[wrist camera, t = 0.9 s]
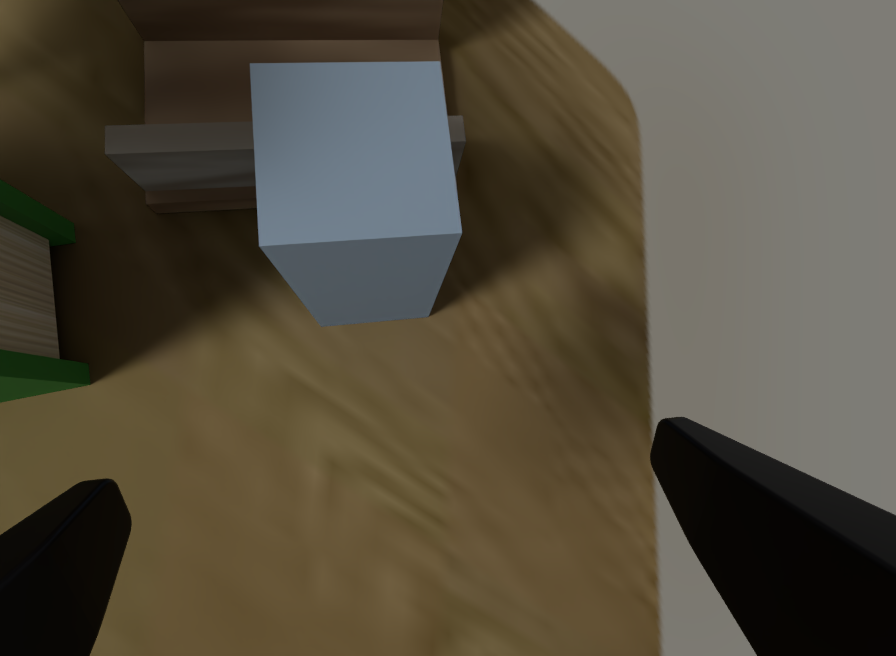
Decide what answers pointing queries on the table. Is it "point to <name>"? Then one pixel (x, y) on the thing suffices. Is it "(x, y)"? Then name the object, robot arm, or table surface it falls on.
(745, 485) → the robot arm
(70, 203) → the table surface
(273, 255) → the blue-grey rectangular block
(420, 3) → the wooden display stand
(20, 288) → the hardback book
